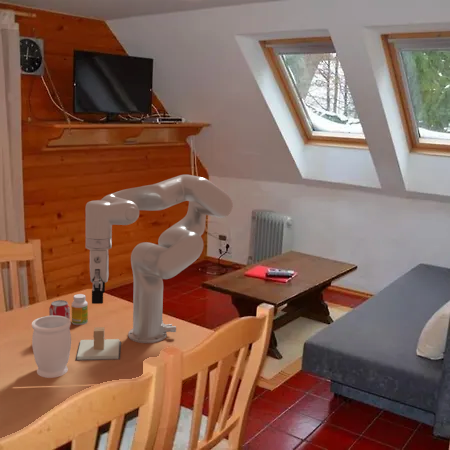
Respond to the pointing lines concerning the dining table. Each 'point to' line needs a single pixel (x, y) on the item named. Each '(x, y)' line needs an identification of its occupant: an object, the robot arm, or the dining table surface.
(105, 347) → the lid
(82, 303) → the supplement bottle
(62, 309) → the beverage can
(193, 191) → the robot arm
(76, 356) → the mat
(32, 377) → the dining table surface
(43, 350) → the jar
